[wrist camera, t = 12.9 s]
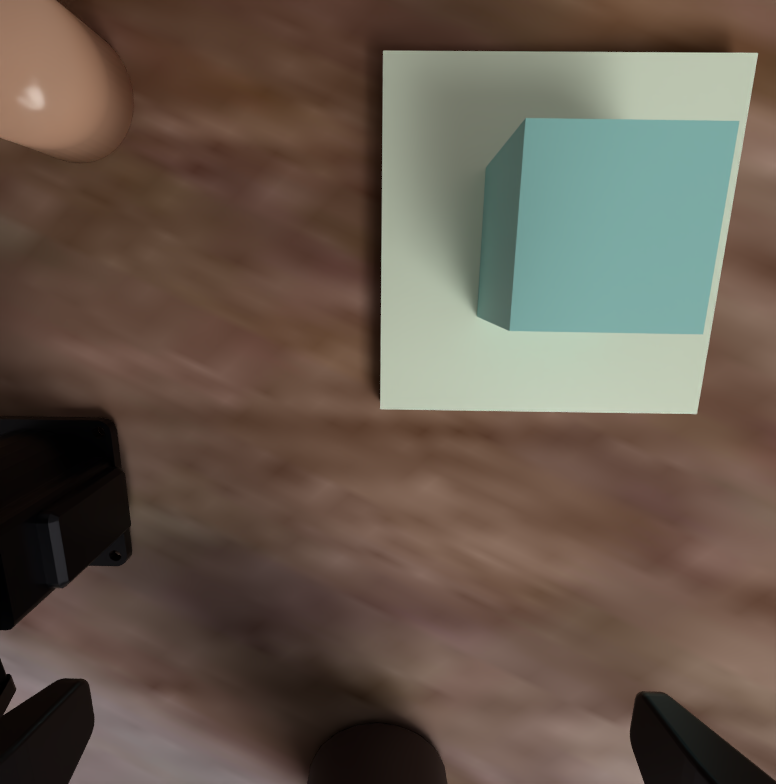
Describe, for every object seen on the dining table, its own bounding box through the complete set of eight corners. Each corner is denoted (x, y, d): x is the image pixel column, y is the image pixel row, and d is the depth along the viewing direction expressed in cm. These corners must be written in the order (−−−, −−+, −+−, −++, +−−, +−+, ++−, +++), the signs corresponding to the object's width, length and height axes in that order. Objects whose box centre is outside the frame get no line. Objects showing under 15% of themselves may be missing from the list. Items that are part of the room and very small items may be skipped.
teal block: (476, 316, 17) (509, 331, 12) (485, 167, 16) (525, 117, 11) (615, 318, 17) (703, 334, 12) (633, 169, 16) (739, 120, 11)
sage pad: (381, 402, 19) (380, 409, 18) (383, 64, 16) (383, 50, 15) (681, 406, 19) (696, 413, 18) (735, 67, 16) (758, 52, 15)
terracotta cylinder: (20, 162, 17) (-90, 128, 13) (-2, 23, 16) (-129, -60, 12) (140, 163, 17) (65, 129, 13) (126, 24, 16) (40, -59, 12)
